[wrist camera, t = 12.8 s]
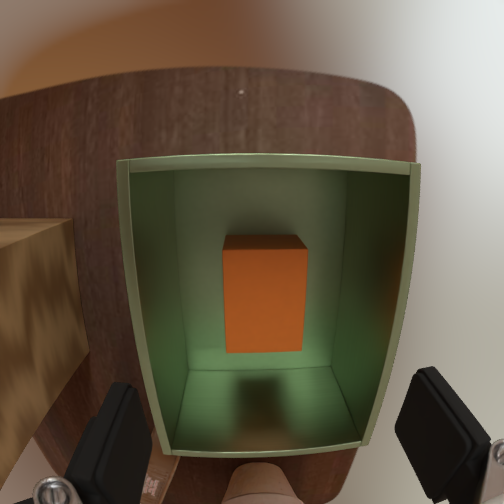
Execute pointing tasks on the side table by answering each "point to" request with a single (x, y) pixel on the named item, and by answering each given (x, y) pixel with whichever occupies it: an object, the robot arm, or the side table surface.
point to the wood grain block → (36, 326)
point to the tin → (158, 473)
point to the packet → (264, 292)
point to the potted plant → (259, 486)
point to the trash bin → (316, 306)
